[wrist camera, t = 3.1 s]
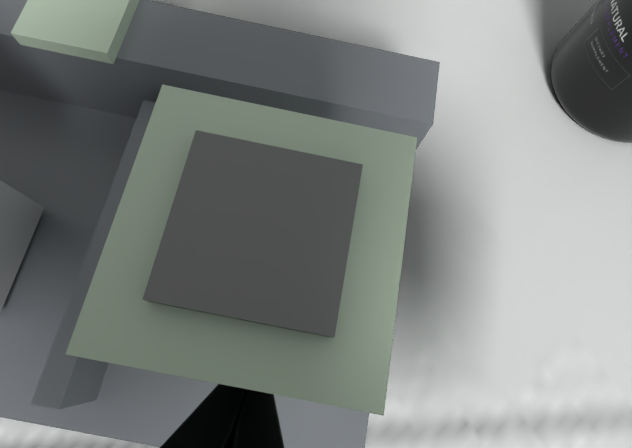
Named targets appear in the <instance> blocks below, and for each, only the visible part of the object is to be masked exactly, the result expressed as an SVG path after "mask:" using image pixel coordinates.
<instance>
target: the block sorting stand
mask: <svg viewBox="0 0 632 448" xmlns="http://www.w3.org/2000/svg"><path fill="white" fill-rule="evenodd" d="M439 63H440V62H436V61H432V60H427V59H422V58H417V57H413V56H408V55H403V54H399V53H394V52H389V51H384V50H380V49H375V48H370V47H366V46H361V45H356V44H351V43H347V42H342V41H337V40H333V39H328V38H323V37H319V36H314V35H309V34H304V33H300V32H295V31H290V30H286V29H281V28H276V27H271V26H267V25H262V24H257V23H253V22H248V21H243V20H238V19H234V18H229V17H224V16H220V15H215V14H210V13H206V12H201V11H196V10H191V9H187V8H182V7H177V6H173V5H168V4H163V3H158V2H154V1H149V0H0V180H1V181H2V182H4V183H6V184H7V185H9V186H10V187H12V188H14V189H15V190H17V191H19V192H20V193H22V194H23V195H25V196H27V197H28V198H30V199H32V200H33V201H35V202H36V203H38V204H40V205H41V206H43V207H44V210H43V212H42V214H41V217H40V219H39V221H38V224H37V226H36V229H35V231H34V233H33V236H32V238H31V241H30V243H29V245H28V248H27V250H26V252H25V255H24V257H23V260H22V262H21V264H20V267H19V269H18V272H17V274H16V276H15V279H14V281H13V283H12V286H11V288H10V291H9V293H8V295H7V298H6V300H5V303H4V305H3V307H2V310H1V312H0V417H3V418H8V419H14V420H19V421H24V422H30V423H35V424H40V425H46V426H51V427H56V428H62V429H67V430H72V431H78V432H83V433H88V434H93V435H99V436H104V437H109V438H115V439H120V440H125V441H131V442H136V443H141V444H147V445H152V446H157V447H161V446H162V445H163V444H164V442H165V441H166V440H167V439H168V438H169V437H170V436H171V435H172V434H173V433H174V432H175V430H176V429H177V428H178V427H179V426H180V425H181V424H182V423H183V422H184V421H185V420H186V419H187V417H188V416H189V415H190V414H191V413H192V412H193V411H194V410H195V409H196V408H197V407H198V405H199V404H200V403H201V402H202V401H203V400H204V399H205V398H206V397H207V396H208V395H209V394H210V392H211V391H212V390H213V389H214V388H215V387H216V386H217V385H218V384H217V383H212V382H207V381H202V380H196V379H191V378H186V377H181V376H176V375H170V374H165V373H160V372H155V371H149V370H144V369H139V368H134V367H129V366H123V365H118V364H113V363H108V362H103V361H97V360H92V359H87V358H82V357H77V356H71V355H66V351H67V348H68V346H69V343H70V340H71V337H72V334H73V332H74V329H75V326H76V323H77V320H78V318H79V315H80V312H81V309H82V307H83V304H84V301H85V298H86V295H87V293H88V290H89V287H90V284H91V281H92V279H93V276H94V273H95V270H96V268H97V265H98V262H99V259H100V256H101V254H102V251H103V248H104V245H105V242H106V240H107V237H108V234H109V231H110V229H111V226H112V223H113V220H114V217H115V215H116V212H117V209H118V206H119V204H120V201H121V198H122V195H123V192H124V190H125V187H126V184H127V181H128V178H129V176H130V173H131V170H132V167H133V165H134V162H135V159H136V156H137V153H138V151H139V148H140V145H141V142H142V139H143V137H144V134H145V131H146V128H147V126H148V123H149V120H150V117H151V114H152V112H153V109H154V106H155V103H156V100H157V98H158V95H159V92H160V89H161V87H162V84H163V85H167V86H172V87H177V88H182V89H187V90H192V91H196V92H201V93H206V94H211V95H216V96H220V97H225V98H230V99H235V100H240V101H244V102H249V103H254V104H259V105H264V106H268V107H273V108H278V109H283V110H288V111H293V112H297V113H302V114H307V115H312V116H317V117H321V118H326V119H331V120H336V121H341V122H345V123H350V124H355V125H360V126H365V127H369V128H374V129H379V130H384V131H389V132H394V133H398V134H403V135H408V136H413V137H417V143H416V149H417V147H418V146H419V144H420V143H421V141H422V140H423V138H424V137H425V135H426V134H427V132H428V131H429V129H430V128H431V126H432V125H433V118H434V109H435V100H436V91H437V81H438V72H439ZM274 397H275V402H276V407H277V412H278V417H279V422H280V427H281V432H282V437H283V442H284V447H285V448H365V440H366V433H367V425H368V417H369V413H368V412H363V411H358V410H353V409H347V408H342V407H337V406H332V405H327V404H321V403H316V402H311V401H306V400H300V399H295V398H290V397H285V396H280V395H274Z"/></svg>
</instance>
